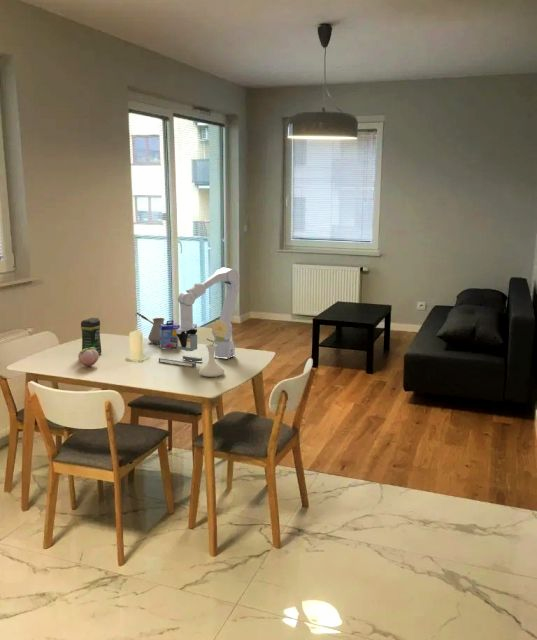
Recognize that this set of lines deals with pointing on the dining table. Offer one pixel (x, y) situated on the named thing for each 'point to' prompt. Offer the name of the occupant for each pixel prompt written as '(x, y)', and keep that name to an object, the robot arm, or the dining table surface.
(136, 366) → the dining table surface
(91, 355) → the decorative fruit
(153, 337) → the coffee pot
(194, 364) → the price rail
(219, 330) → the flower in vase
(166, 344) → the ink cartridge box
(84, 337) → the coffee jar
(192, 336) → the carton
